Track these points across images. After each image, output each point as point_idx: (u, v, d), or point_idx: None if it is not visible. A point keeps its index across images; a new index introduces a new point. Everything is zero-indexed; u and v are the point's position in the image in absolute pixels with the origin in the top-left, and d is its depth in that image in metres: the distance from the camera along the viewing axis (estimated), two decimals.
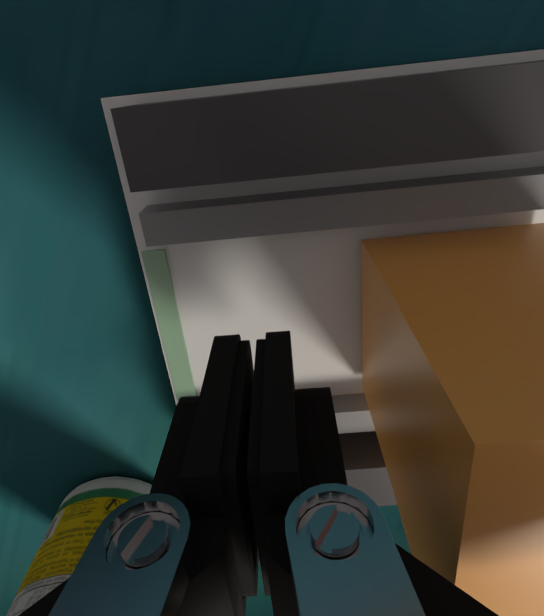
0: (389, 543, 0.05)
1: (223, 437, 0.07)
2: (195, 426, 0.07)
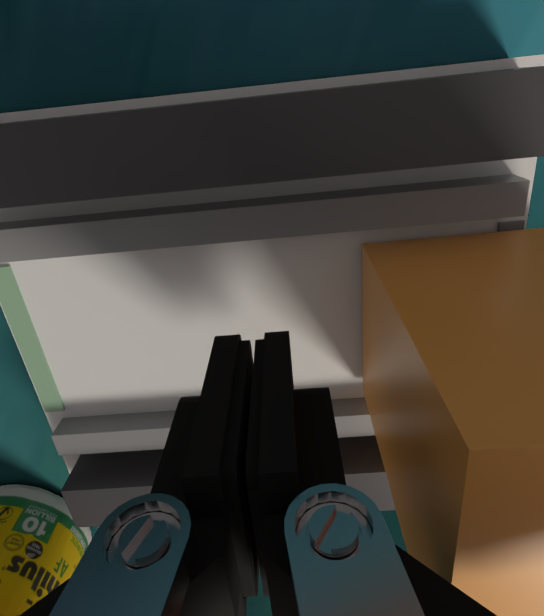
0: (388, 543, 0.05)
1: (223, 437, 0.07)
2: (196, 426, 0.07)
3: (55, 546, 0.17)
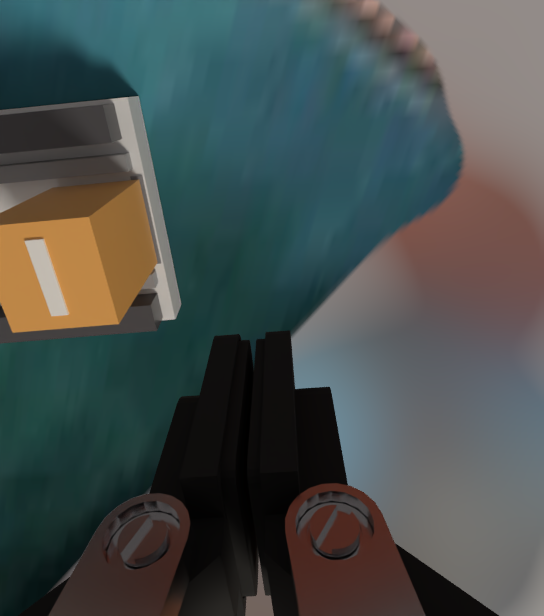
0: (389, 543, 0.05)
1: (222, 437, 0.07)
2: (195, 426, 0.07)
3: None
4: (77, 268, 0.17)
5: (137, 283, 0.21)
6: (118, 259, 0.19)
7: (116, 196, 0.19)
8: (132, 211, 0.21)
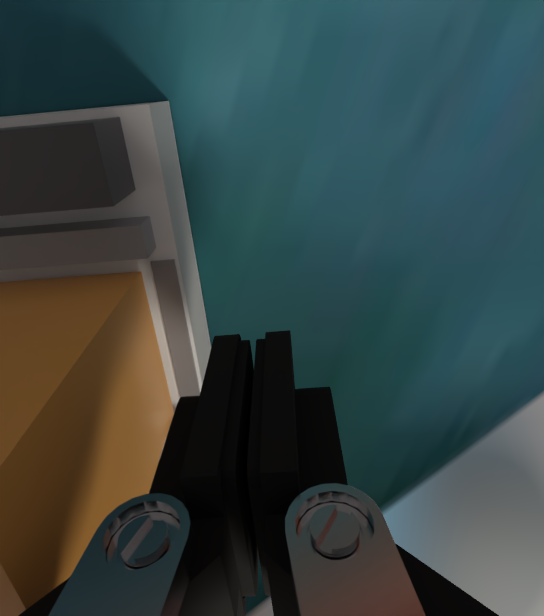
0: (389, 543, 0.05)
1: (222, 437, 0.07)
2: (195, 426, 0.07)
3: None
4: None
5: None
6: (86, 516, 0.08)
7: (84, 349, 0.08)
8: (124, 354, 0.10)
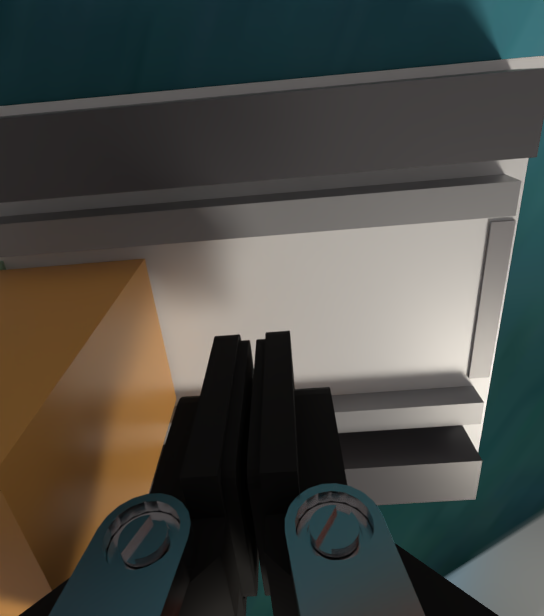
0: (389, 543, 0.05)
1: (223, 437, 0.07)
2: (195, 426, 0.07)
3: None
4: None
5: (140, 495, 0.10)
6: (97, 492, 0.08)
7: (93, 331, 0.08)
8: (130, 338, 0.10)
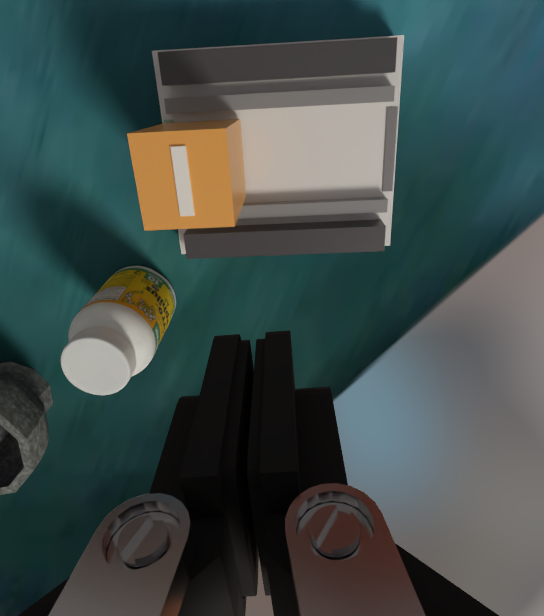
0: (389, 543, 0.05)
1: (222, 437, 0.07)
2: (195, 426, 0.07)
3: (163, 292, 0.32)
4: (209, 174, 0.21)
5: (240, 203, 0.25)
6: (234, 174, 0.23)
7: (233, 123, 0.23)
8: (238, 142, 0.25)
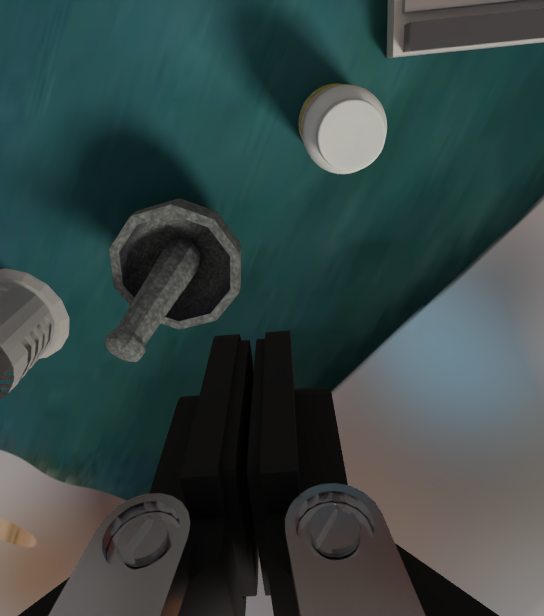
0: (389, 543, 0.05)
1: (222, 437, 0.07)
2: (195, 426, 0.07)
3: None
4: None
5: None
6: None
7: None
8: None
